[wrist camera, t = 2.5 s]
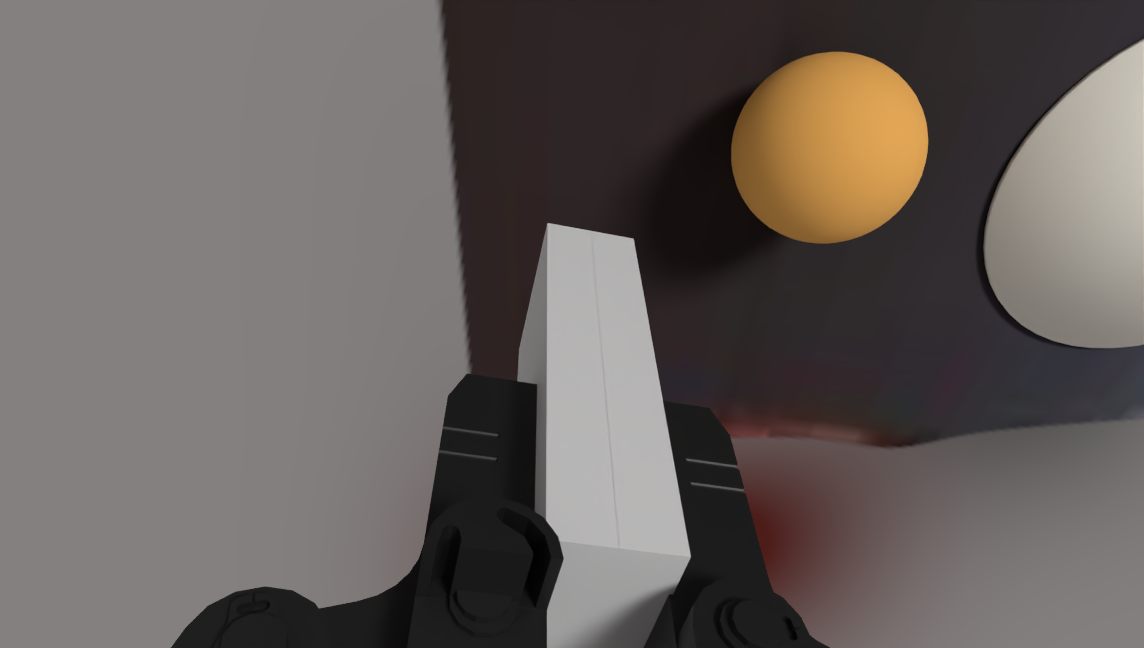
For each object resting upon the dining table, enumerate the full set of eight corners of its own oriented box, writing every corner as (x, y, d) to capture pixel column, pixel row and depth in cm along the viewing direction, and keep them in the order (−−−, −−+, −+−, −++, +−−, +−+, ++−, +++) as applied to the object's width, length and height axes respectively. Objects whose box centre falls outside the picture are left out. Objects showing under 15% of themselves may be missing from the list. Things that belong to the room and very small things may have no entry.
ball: (919, 50, 24) (1002, 114, 19) (845, 206, 27) (902, 293, 22) (751, 11, 23) (797, 68, 19) (695, 176, 26) (723, 259, 22)
